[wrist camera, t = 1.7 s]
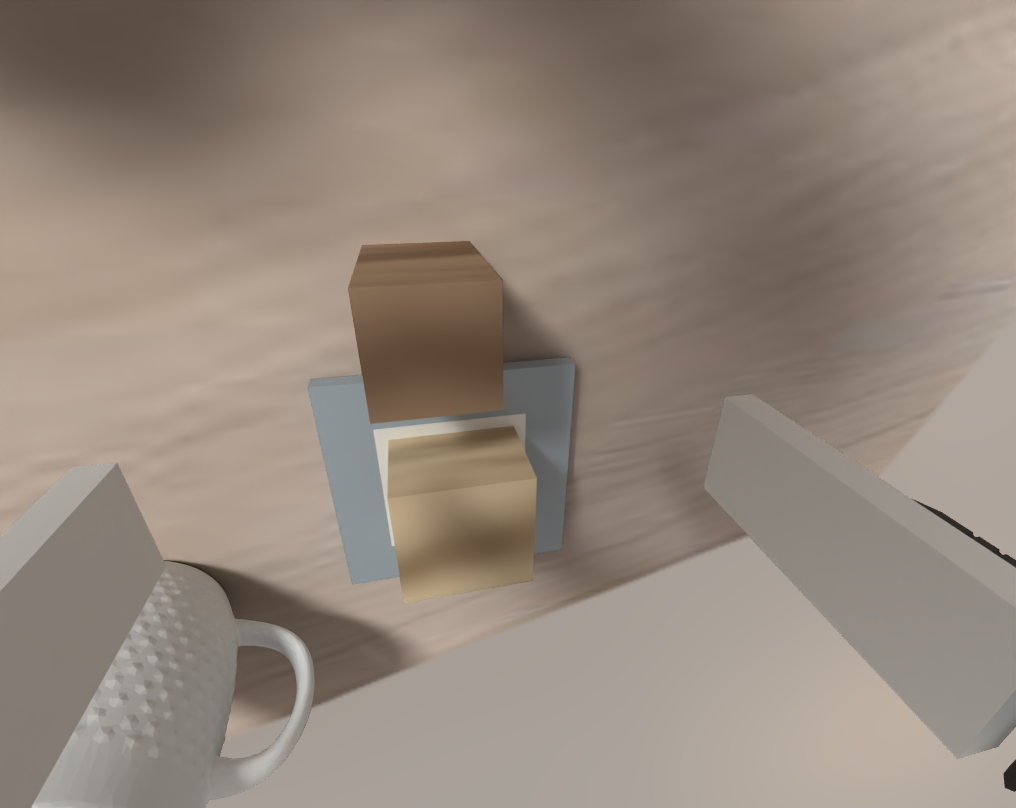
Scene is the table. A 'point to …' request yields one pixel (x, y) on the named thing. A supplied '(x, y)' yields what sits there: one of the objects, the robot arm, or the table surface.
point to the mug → (174, 706)
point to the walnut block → (428, 330)
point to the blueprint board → (364, 447)
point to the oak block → (461, 511)
